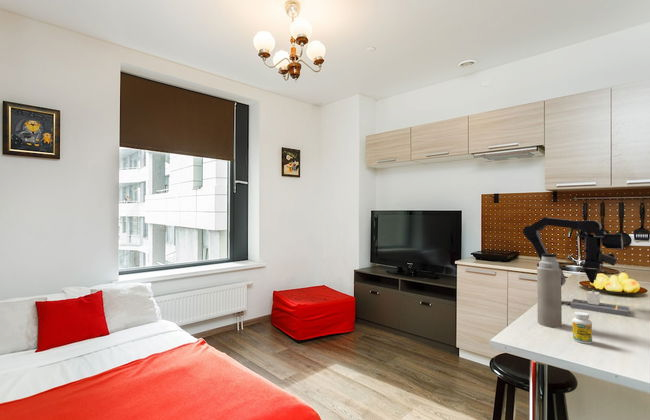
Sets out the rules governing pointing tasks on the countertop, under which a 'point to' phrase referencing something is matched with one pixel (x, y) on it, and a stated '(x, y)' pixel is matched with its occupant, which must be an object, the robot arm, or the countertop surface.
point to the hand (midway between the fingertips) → (593, 281)
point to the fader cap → (593, 297)
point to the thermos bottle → (549, 292)
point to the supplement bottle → (582, 328)
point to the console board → (600, 307)
